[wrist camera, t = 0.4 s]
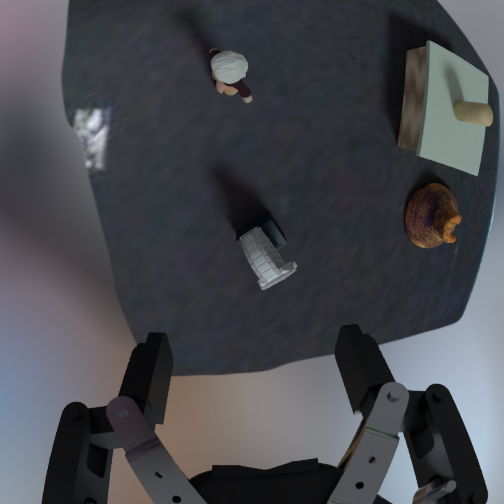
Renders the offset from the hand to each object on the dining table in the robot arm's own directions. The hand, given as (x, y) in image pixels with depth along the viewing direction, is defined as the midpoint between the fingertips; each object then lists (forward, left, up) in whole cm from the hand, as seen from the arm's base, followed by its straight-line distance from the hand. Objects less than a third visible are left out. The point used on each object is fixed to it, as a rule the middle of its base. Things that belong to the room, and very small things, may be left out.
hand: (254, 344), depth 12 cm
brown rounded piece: (+1, +32, -29) cm, 43 cm away
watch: (+7, +3, -29) cm, 30 cm away
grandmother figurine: (-14, -3, -29) cm, 32 cm away
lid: (-17, +28, -22) cm, 40 cm away
